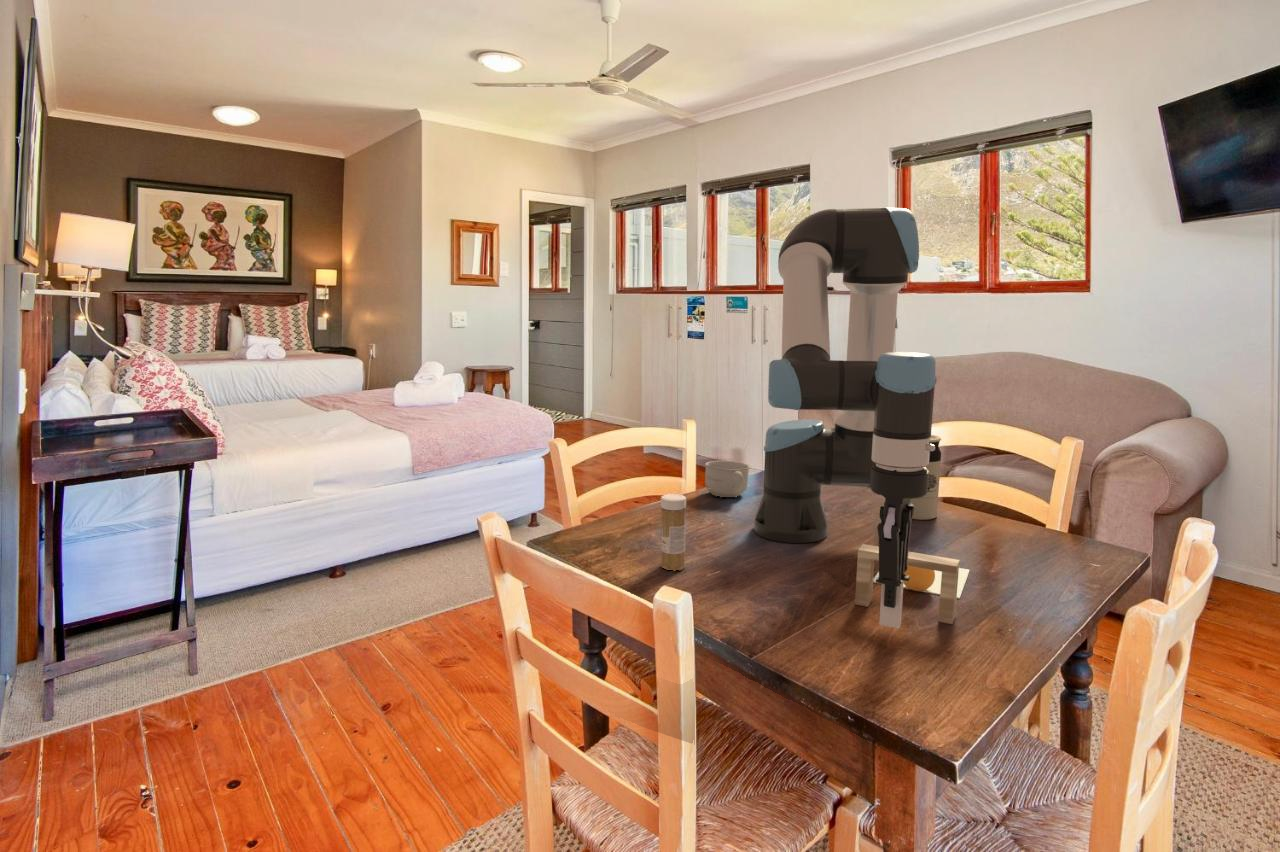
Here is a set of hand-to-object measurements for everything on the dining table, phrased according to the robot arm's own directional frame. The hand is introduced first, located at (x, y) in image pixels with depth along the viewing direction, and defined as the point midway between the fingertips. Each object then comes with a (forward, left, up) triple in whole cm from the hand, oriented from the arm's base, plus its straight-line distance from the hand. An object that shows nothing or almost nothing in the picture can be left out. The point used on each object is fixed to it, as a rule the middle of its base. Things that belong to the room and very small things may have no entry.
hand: (890, 624), depth 104 cm
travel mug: (-7, +64, -2) cm, 64 cm away
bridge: (0, +11, -2) cm, 11 cm away
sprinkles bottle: (-40, +9, -2) cm, 41 cm away
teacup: (-50, +57, -3) cm, 76 cm away
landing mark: (0, +27, -2) cm, 27 cm away
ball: (0, +20, 0) cm, 20 cm away
